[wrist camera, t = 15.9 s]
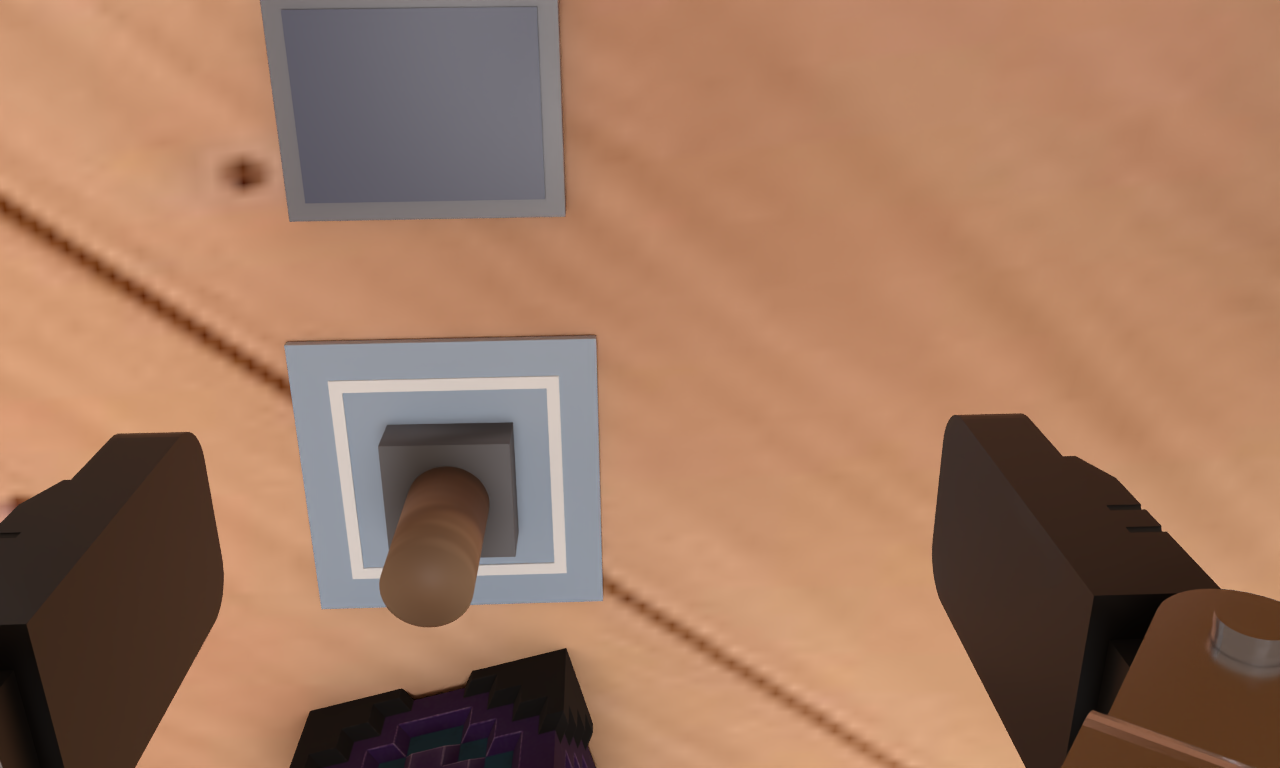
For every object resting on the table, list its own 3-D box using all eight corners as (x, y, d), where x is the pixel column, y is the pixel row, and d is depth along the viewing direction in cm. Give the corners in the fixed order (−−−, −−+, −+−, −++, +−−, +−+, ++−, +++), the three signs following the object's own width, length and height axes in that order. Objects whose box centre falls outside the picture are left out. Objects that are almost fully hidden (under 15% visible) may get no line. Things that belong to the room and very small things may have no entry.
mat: (595, 335, 43) (596, 339, 43) (602, 595, 48) (602, 602, 47) (286, 342, 43) (283, 346, 42) (323, 603, 47) (320, 610, 47)
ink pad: (558, -18, 38) (556, -16, 37) (565, 210, 41) (565, 217, 40) (266, -14, 38) (256, -12, 37) (296, 214, 41) (288, 222, 40)
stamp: (513, 422, 44) (496, 521, 37) (518, 531, 46) (504, 647, 39) (387, 424, 44) (344, 525, 36) (398, 534, 46) (359, 650, 38)
